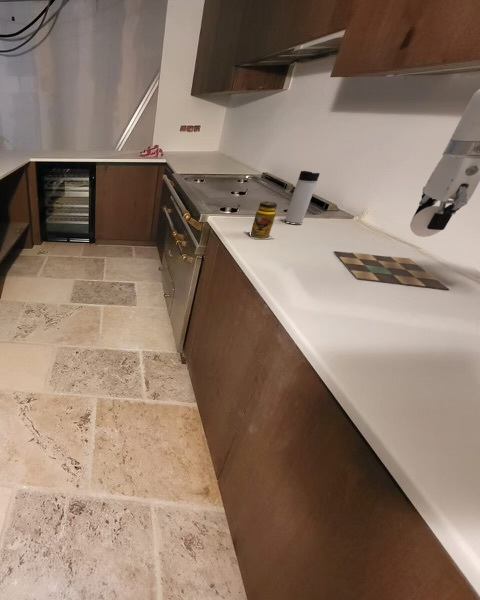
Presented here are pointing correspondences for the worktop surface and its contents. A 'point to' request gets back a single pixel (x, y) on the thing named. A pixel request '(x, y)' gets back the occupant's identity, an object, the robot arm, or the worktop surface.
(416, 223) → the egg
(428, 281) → the checkerboard
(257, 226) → the condiment
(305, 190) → the travel mug
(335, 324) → the worktop surface
